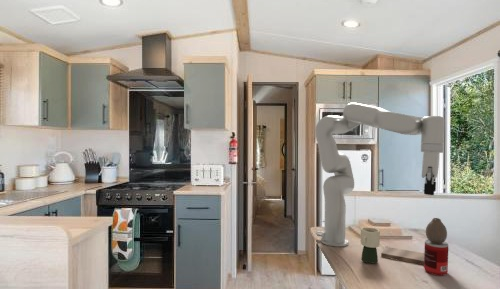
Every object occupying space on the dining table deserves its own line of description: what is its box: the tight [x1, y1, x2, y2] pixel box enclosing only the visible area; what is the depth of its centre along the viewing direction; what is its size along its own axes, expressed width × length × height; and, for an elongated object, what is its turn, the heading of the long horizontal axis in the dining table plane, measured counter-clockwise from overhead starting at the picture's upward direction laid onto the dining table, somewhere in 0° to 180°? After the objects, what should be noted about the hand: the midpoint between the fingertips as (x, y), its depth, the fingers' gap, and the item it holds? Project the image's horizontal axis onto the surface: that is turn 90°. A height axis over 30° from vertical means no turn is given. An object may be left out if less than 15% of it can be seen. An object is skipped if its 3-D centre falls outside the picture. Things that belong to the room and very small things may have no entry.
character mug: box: [359, 226, 381, 264], centre depth 130 cm, size 11×7×13 cm, turn 133°
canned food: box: [423, 239, 449, 277], centre depth 121 cm, size 8×8×11 cm
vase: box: [425, 217, 448, 244], centre depth 121 cm, size 7×7×9 cm
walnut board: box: [380, 246, 424, 266], centre depth 136 cm, size 16×10×2 cm, turn 58°
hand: (429, 192), depth 125 cm, fingers open, 9 cm apart
